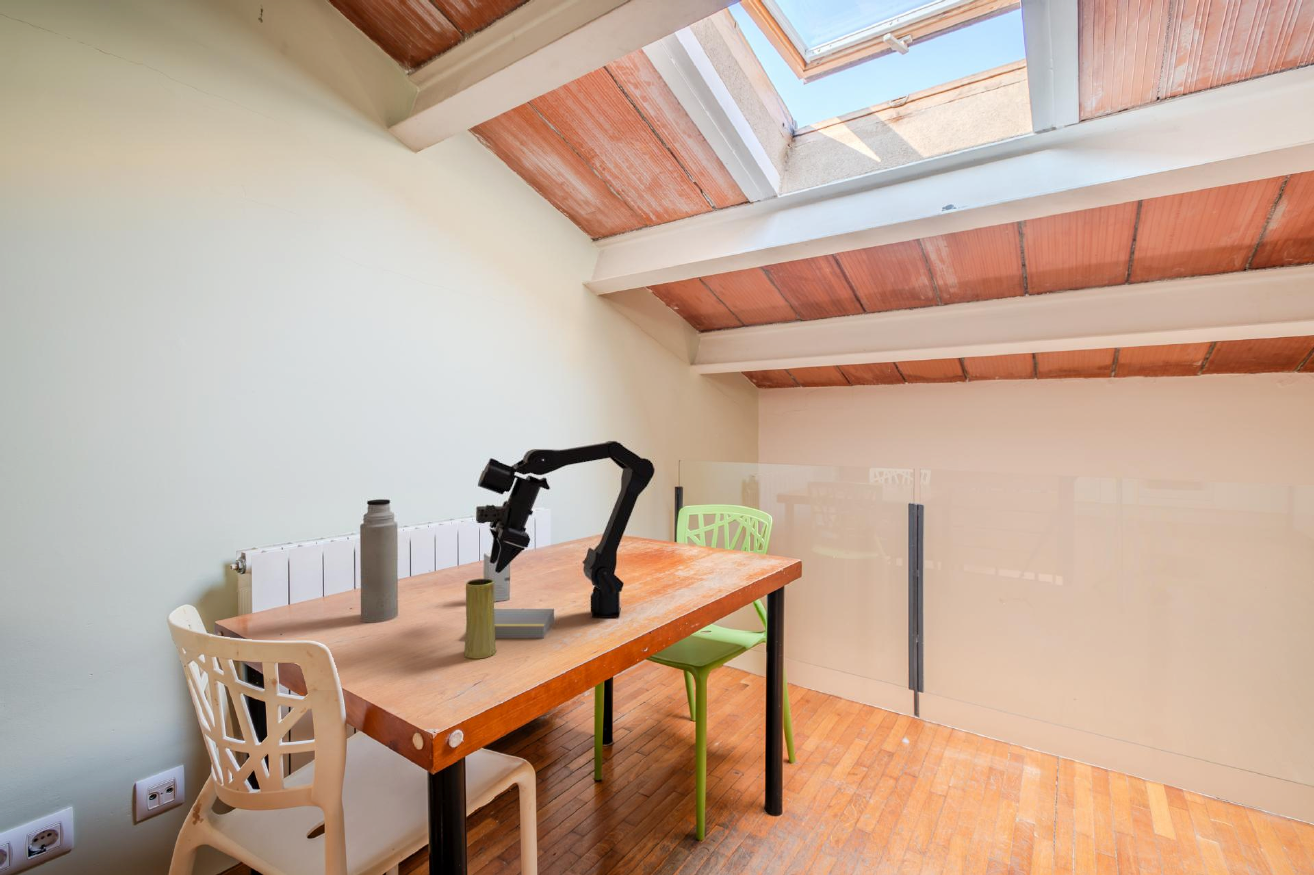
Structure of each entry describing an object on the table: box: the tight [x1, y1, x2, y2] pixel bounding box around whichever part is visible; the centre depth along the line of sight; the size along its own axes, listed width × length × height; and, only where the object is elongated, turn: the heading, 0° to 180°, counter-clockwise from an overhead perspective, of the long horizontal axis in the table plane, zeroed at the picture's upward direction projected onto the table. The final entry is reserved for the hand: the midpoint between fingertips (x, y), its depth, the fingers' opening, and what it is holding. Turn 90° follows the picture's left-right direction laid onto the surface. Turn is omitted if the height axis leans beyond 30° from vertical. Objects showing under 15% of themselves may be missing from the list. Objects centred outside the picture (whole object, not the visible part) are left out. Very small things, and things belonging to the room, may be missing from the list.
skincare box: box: [483, 552, 511, 603], centre depth 148 cm, size 6×4×12 cm
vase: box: [463, 578, 497, 660], centre depth 112 cm, size 6×6×14 cm
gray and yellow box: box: [494, 608, 555, 639], centre depth 126 cm, size 16×12×3 cm
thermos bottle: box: [359, 498, 399, 623], centre depth 134 cm, size 8×8×28 cm
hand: (494, 567), depth 125 cm, fingers open, 9 cm apart
